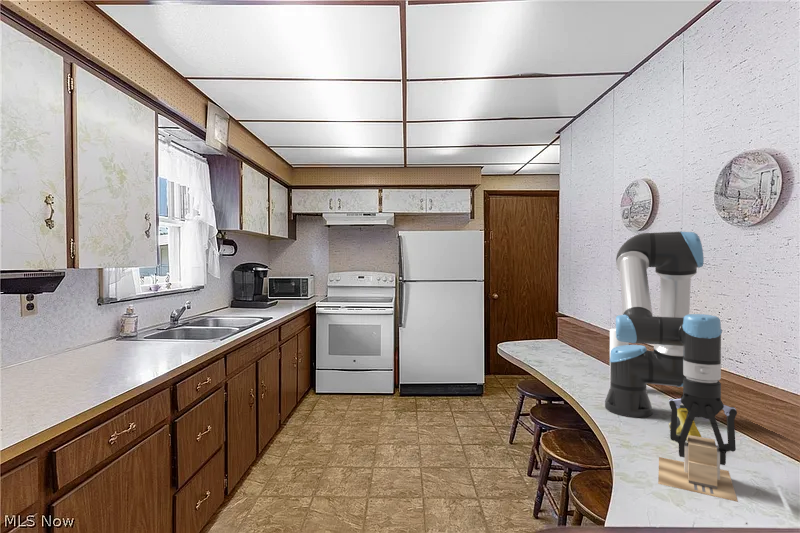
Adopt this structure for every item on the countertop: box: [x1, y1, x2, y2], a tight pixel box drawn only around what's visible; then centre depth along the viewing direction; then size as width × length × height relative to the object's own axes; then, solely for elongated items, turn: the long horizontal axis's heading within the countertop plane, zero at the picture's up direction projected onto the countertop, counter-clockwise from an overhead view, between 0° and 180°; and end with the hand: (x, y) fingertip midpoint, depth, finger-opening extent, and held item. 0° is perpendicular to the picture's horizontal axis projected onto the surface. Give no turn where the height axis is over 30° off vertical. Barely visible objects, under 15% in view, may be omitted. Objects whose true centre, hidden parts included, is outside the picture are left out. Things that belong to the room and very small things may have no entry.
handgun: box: [668, 404, 702, 441], centre depth 124 cm, size 2×19×12 cm
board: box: [657, 456, 739, 503], centre depth 105 cm, size 16×15×2 cm
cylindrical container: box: [609, 328, 630, 354], centre depth 181 cm, size 7×7×25 cm
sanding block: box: [686, 435, 718, 489], centre depth 104 cm, size 8×6×9 cm
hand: (701, 473), depth 104 cm, fingers closed on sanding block, 5 cm apart
